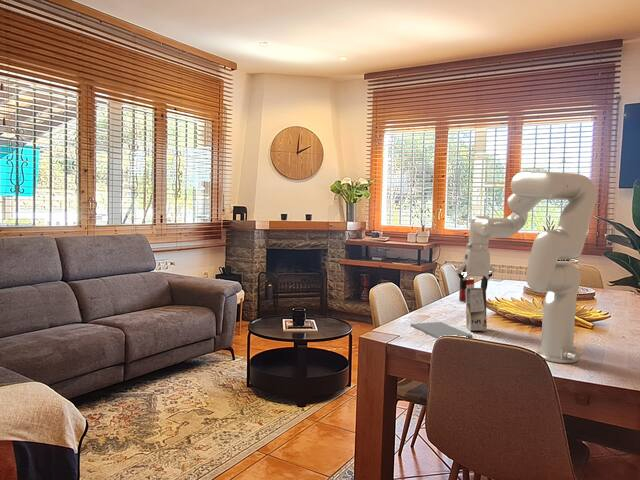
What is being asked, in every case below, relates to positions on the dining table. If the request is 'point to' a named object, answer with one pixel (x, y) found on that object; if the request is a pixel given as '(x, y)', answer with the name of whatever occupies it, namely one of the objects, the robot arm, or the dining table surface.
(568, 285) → the robot arm
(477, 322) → the coffee box
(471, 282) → the soda can
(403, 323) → the dining table surface
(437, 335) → the mat
